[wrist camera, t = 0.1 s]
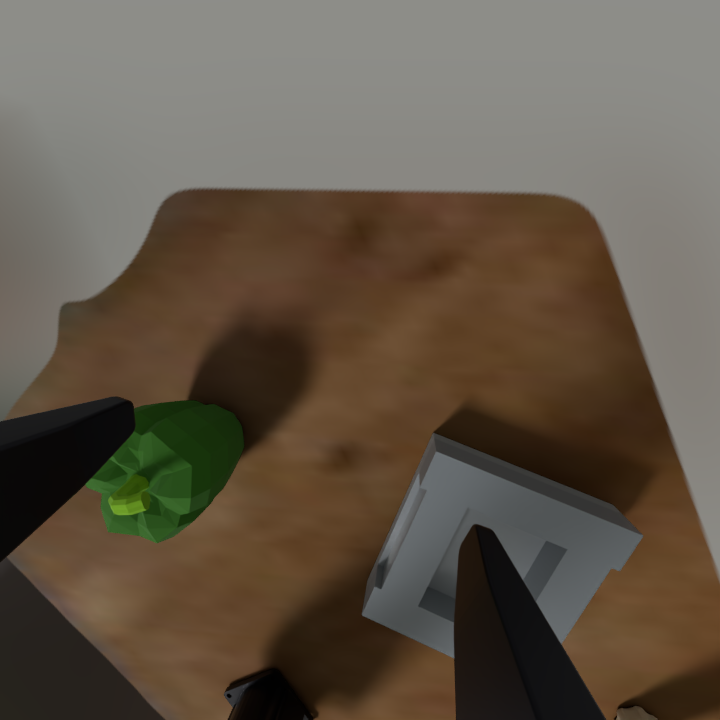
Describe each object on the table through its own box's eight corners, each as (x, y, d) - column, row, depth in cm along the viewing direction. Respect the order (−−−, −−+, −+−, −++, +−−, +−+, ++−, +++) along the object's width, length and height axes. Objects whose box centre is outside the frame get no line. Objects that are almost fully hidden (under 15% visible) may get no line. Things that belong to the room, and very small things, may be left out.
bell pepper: (166, 469, 28) (32, 560, 18) (168, 378, 26) (22, 423, 16) (257, 491, 27) (167, 601, 17) (265, 397, 25) (171, 458, 15)
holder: (521, 650, 25) (536, 696, 22) (367, 580, 26) (361, 615, 23) (612, 504, 22) (643, 535, 19) (433, 432, 23) (436, 451, 20)
